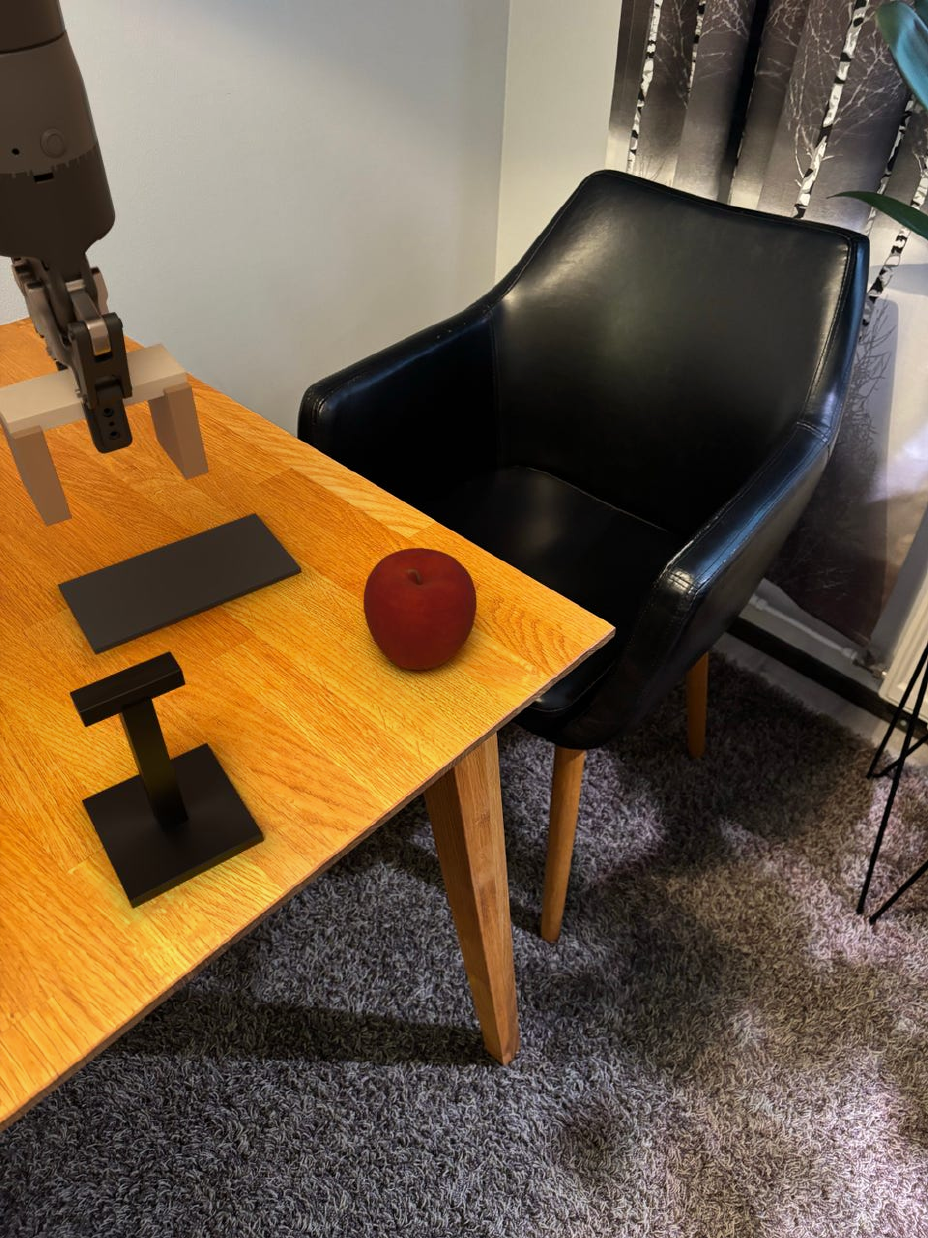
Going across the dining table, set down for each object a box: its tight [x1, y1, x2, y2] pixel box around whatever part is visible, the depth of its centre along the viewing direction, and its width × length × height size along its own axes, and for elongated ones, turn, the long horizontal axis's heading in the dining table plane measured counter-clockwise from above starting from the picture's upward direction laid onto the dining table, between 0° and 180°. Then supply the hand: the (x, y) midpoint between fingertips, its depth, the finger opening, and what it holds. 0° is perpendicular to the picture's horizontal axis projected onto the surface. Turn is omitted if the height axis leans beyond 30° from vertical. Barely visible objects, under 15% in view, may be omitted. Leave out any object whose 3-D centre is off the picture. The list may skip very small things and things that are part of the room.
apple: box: [363, 547, 478, 671], centre depth 82 cm, size 10×10×10 cm
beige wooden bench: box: [0, 343, 210, 527], centre depth 60 cm, size 11×5×7 cm, turn 123°
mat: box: [57, 512, 302, 655], centre depth 91 cm, size 20×10×1 cm, turn 124°
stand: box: [69, 650, 265, 909], centre depth 66 cm, size 10×10×16 cm
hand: (102, 427), depth 60 cm, fingers closed on beige wooden bench, 4 cm apart
